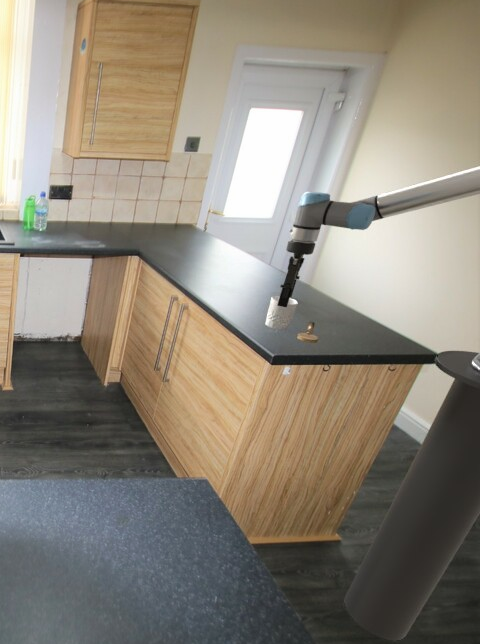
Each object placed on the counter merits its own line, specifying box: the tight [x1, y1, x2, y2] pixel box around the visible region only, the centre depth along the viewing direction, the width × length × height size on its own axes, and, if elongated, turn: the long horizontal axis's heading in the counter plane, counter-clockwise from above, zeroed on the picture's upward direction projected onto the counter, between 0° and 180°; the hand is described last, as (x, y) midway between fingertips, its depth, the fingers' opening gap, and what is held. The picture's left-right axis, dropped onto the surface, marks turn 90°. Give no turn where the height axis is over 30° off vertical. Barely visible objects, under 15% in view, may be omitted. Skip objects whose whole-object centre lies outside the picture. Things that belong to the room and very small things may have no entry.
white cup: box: [264, 295, 299, 331], centre depth 166 cm, size 8×8×10 cm
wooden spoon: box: [296, 321, 319, 344], centre depth 163 cm, size 19×6×2 cm, turn 142°
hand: (284, 301), depth 164 cm, fingers open, 13 cm apart
